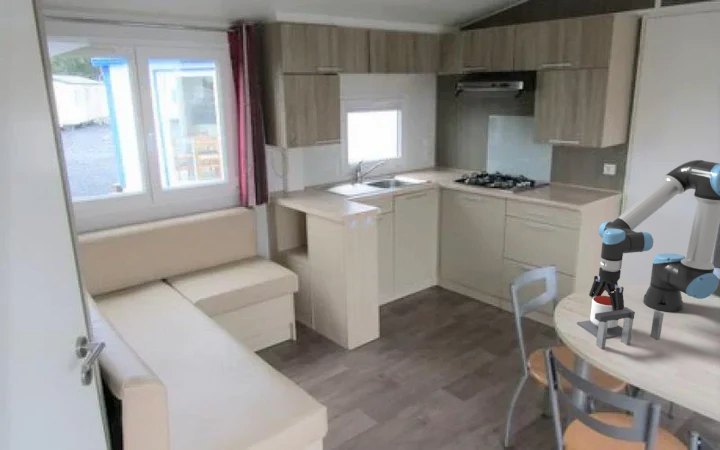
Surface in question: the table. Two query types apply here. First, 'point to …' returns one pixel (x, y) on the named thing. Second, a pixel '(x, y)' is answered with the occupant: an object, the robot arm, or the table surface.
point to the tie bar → (615, 315)
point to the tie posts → (629, 330)
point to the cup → (600, 308)
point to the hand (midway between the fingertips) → (603, 320)
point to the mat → (594, 329)
